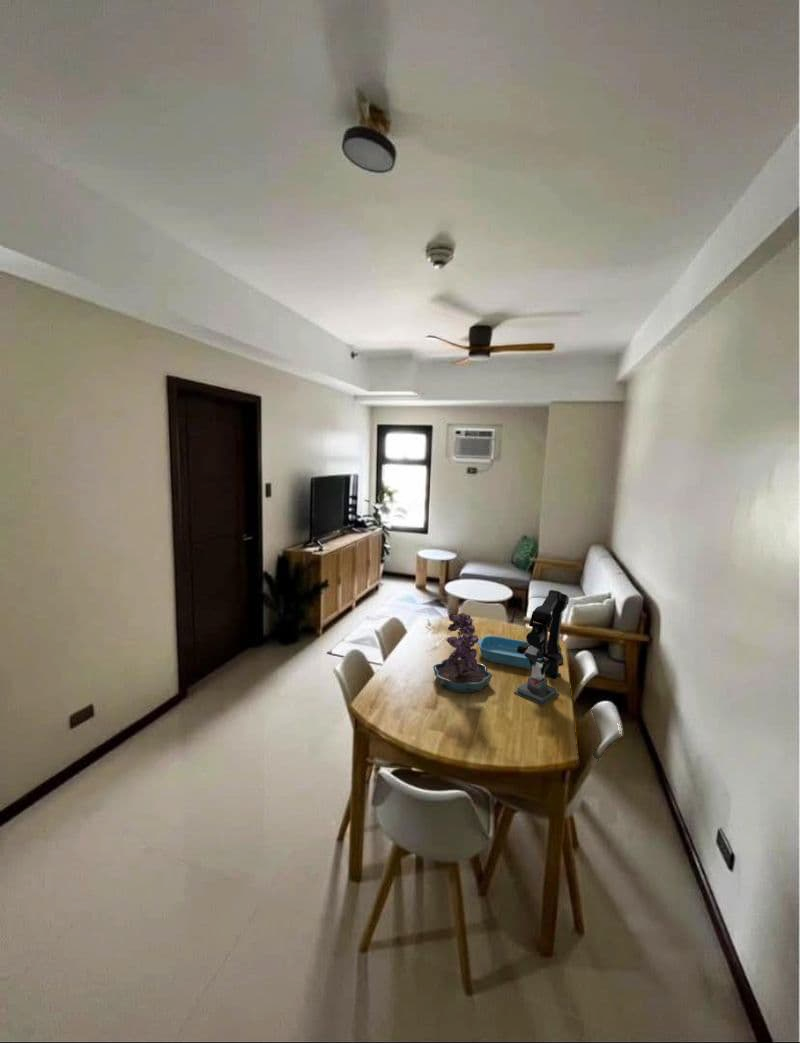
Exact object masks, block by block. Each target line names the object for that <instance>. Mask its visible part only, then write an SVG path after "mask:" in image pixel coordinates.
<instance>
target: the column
mask: <svg viewBox="0 0 800 1043" xmlns="http://www.w3.org/2000/svg"><path fill="white" fill-rule="evenodd" d="M542 666H543V664H540V663H537V662H536V663H534V664H533V665H532V669H531V673H530V674H531V675H530V677H531V679H533V680H536V681H538V682H541V681H543V680H544V678H545V676H546V675H545V673H544V675H542Z"/></svg>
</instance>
